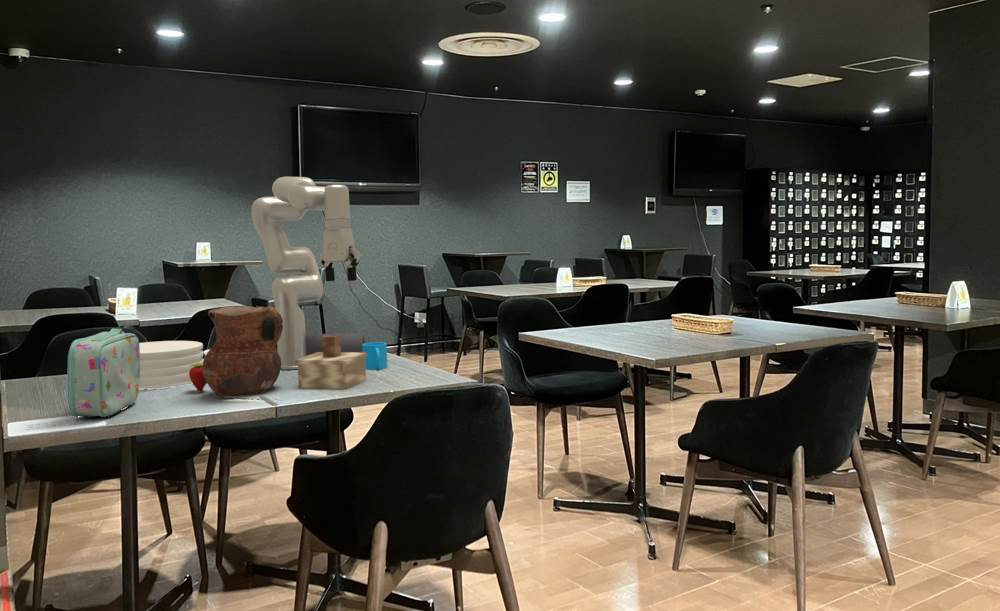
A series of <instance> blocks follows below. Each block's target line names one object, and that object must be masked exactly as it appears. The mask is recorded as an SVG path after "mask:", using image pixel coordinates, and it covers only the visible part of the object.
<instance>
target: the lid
mask: <svg viewBox="0 0 1000 611" xmlns="http://www.w3.org/2000/svg"><path fill="white" fill-rule="evenodd" d="M322 344H323V352H317V353H314V354H311V355H308V356H305V357H303V358H300V359H297V360H295V364H315V365H348V364H351V363H353V362H355V361H358V360H360V359H363V358H365V357H367V353H361V352H341V341H340V335H327V336H324V337H322Z"/></svg>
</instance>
